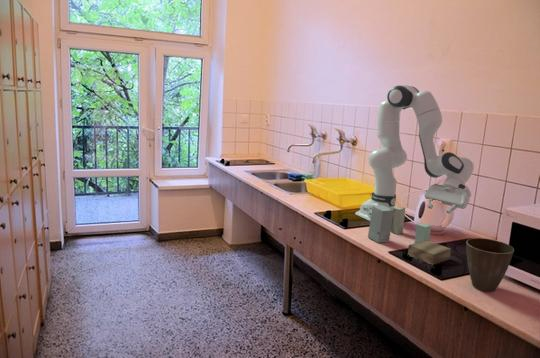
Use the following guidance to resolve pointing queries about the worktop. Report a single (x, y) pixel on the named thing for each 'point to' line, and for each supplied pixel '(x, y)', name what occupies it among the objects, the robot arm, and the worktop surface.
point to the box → (398, 220)
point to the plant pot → (487, 262)
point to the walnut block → (429, 252)
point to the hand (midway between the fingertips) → (438, 210)
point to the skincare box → (380, 224)
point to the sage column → (422, 232)
